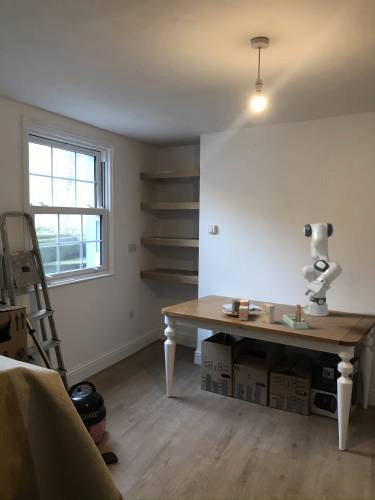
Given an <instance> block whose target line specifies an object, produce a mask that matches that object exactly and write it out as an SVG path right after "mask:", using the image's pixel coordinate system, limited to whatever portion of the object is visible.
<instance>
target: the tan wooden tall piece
mask: <svg viewBox="0 0 375 500" xmlns="http://www.w3.org/2000/svg"><path fill="white" fill-rule="evenodd" d="M294 314H295V321H294V322H295V323H301V318H302V312H301V304H296V309H295V313H294Z"/></svg>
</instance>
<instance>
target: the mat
mask: <svg viewBox="0 0 375 500" xmlns="http://www.w3.org/2000/svg"><path fill="white" fill-rule="evenodd" d="M276 321H277V322H278V323H279V324H281V326H283V327H284V328H285V329H287V330H288V329H289V330H291V329H293V328H292V327H291V326H290V325H288V324H287V323H286V322H285V321H284V320H283V319H277V320H276ZM309 329H315V327H314V326H312V325H311V324H310V323H309ZM293 330H294V329H293Z"/></svg>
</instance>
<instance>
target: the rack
mask: <svg viewBox="0 0 375 500" xmlns="http://www.w3.org/2000/svg"><path fill="white" fill-rule="evenodd" d="M282 320H284V321H285V322H286V323H287V324H288V325H290V326H291V327H292V328H293V330H303V329H304V330H305V329H306V330H309V329H310V328H309V324H310V322H308V321H307V320H305V319H304V318H303V317H301V323H295V322H294V321H295V313H294V314H293V313H291V314H288V313H287V314H282Z"/></svg>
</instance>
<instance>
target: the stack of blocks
mask: <svg viewBox="0 0 375 500" xmlns="http://www.w3.org/2000/svg"><path fill="white" fill-rule="evenodd" d="M238 311H239V312H238V321H240V320H247V321H248V319H249V316H250V299H249V298H241V299H240V303H239V309H238ZM248 315H249V316H248Z"/></svg>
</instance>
